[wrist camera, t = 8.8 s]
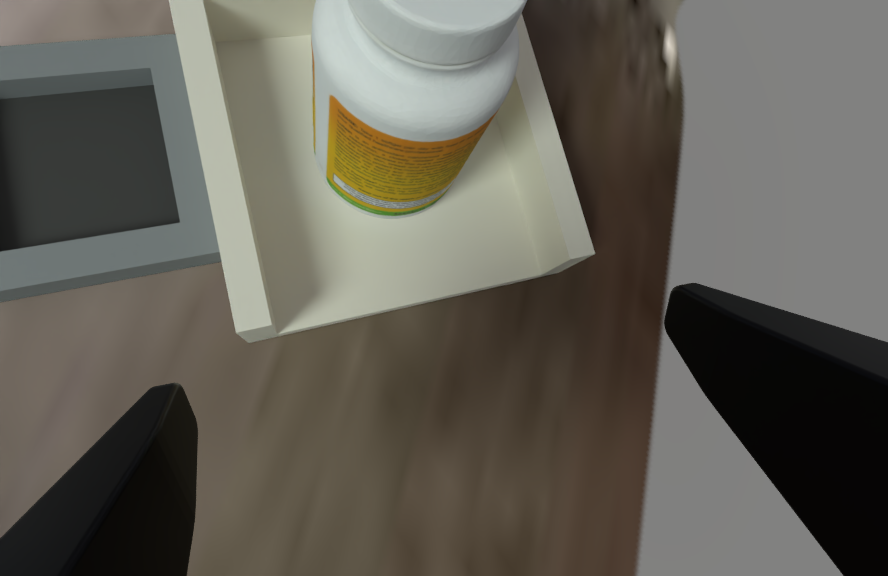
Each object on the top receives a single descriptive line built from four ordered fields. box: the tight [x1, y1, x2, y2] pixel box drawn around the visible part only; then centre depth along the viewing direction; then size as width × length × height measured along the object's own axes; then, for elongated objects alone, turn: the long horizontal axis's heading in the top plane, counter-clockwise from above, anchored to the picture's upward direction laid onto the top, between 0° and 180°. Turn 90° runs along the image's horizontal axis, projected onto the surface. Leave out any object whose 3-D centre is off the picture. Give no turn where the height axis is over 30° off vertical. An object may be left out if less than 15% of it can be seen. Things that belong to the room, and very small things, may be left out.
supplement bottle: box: [311, 0, 527, 219], centre depth 15 cm, size 5×5×10 cm
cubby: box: [169, 0, 595, 343], centre depth 19 cm, size 12×12×3 cm
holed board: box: [0, 34, 222, 302], centre depth 17 cm, size 8×8×1 cm
